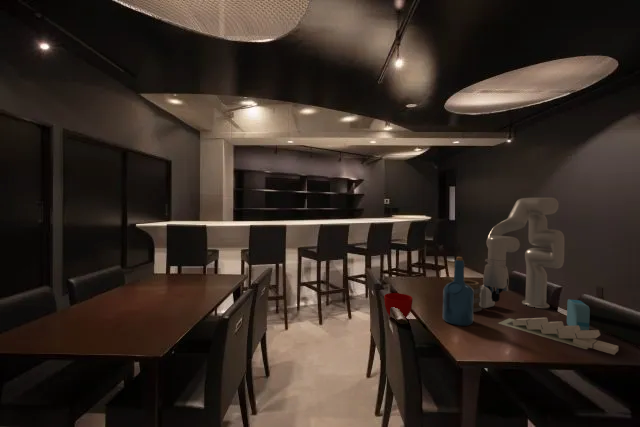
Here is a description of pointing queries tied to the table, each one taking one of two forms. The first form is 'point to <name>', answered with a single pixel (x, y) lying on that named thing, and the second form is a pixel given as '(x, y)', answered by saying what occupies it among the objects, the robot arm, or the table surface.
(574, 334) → the domino
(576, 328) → the domino
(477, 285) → the tankard
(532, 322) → the domino
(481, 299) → the photo printer
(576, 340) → the domino
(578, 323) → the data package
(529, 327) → the domino
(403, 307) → the ceramic cup
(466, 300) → the wine bottle
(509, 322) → the domino mat
